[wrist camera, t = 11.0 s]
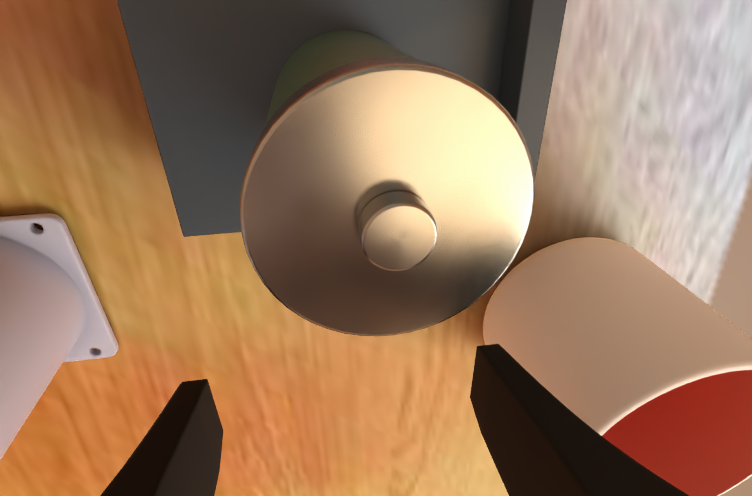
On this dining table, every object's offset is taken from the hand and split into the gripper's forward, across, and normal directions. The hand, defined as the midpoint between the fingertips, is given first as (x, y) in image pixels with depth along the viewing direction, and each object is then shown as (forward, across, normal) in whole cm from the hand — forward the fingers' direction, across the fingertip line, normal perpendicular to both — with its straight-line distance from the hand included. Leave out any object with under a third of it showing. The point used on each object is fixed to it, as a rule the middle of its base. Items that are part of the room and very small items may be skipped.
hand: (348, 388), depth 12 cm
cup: (+11, -13, +7) cm, 18 cm away
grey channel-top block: (+10, -1, -6) cm, 12 cm away
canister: (+6, -1, -6) cm, 8 cm away
